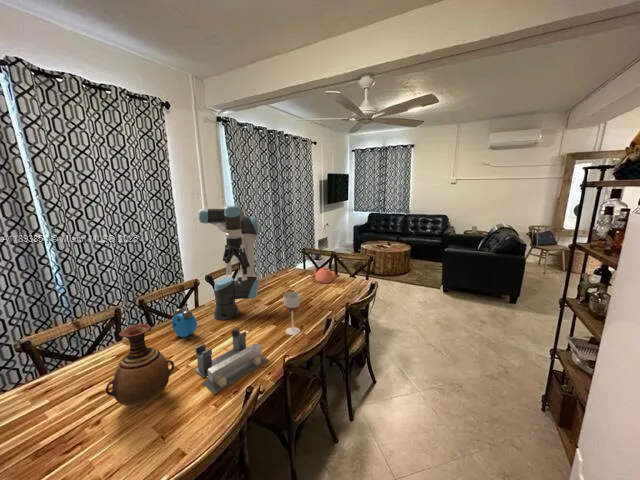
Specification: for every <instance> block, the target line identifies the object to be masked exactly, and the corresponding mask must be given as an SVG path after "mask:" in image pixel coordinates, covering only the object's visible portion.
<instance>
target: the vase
mask: <svg viewBox="0 0 640 480" xmlns="http://www.w3.org/2000/svg"><path fill="white" fill-rule="evenodd" d="M151 331H152V327H151V325H149V324H147V323H146V324H145V323H140V324H133V325H130V326H128V327H126V328H125V329H122V330H121V331H120V332H119V334H118V336H119V337H120V338H127V340H128V342H129V352H128V353H127V354H126V355H124V357H122V358H121V360H120V361H119V363H118V365H117V366H116V369H115V372H114V375H113V377H112V378H111V379H110V380H109V381H108V382H107V384H106V387H105V393H106V394H107V395H108V396H112V397H113V398H114V399H115V401H116V402H117V403H118V404H120V405H123V406H125V407H137V406H141V405H145V404H148V403H149V402H151V401H153V400H155V399H157V398H158V397H159V396H160V395H161V394H163V392H164V391H165V389H166V388H167V385H168V383H169V381H170V376H171V374H172V373H173V371H174V370H175V363H174V361H173V360H171V359H169V358H166V357H165V356H164V354H163V353H162V352H161V351H159V350H158V349H156V348H154V347H147V345H146V339H145V335H146V333H147V332H151ZM169 364H170V365H171V368H170V367H169ZM111 385H112V390H110V391H109V388H110V386H111Z"/></svg>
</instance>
